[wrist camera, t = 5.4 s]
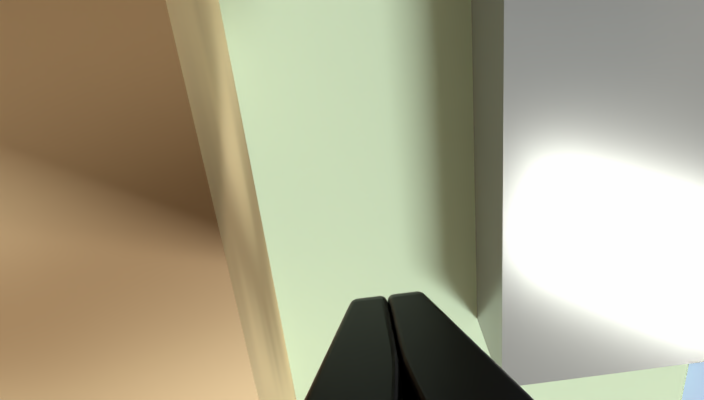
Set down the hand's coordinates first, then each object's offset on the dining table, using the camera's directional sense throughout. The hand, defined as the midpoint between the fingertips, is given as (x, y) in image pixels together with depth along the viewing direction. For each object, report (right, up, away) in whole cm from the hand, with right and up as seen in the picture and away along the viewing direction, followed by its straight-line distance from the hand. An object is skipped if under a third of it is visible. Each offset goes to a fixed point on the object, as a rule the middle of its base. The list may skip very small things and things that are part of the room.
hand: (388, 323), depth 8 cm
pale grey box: (+5, +2, +2) cm, 6 cm away
